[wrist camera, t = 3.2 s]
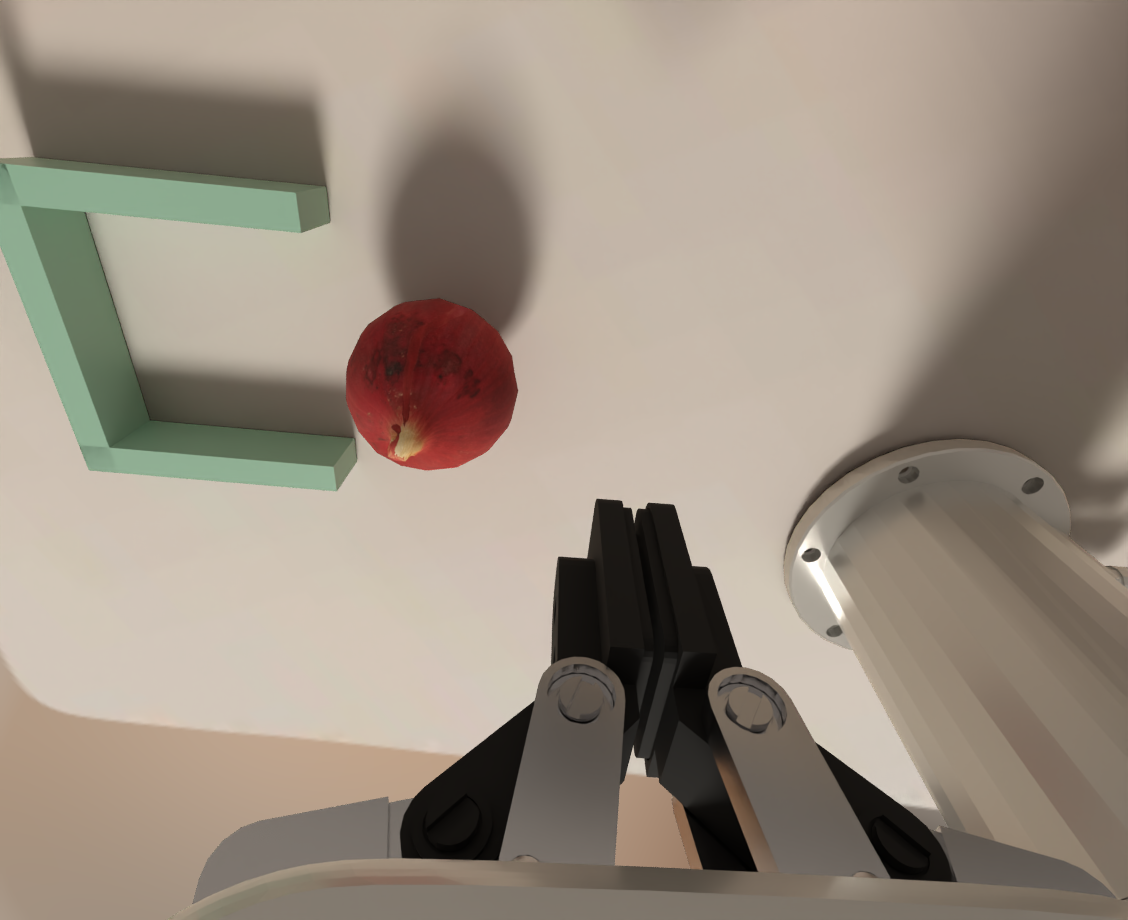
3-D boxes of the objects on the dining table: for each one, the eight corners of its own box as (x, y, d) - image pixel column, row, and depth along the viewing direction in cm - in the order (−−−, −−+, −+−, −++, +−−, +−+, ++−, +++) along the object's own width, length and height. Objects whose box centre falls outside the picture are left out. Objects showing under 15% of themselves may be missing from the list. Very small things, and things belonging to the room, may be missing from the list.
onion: (364, 288, 22) (265, 361, 15) (510, 268, 21) (478, 333, 14) (405, 422, 25) (339, 534, 18) (535, 407, 24) (518, 516, 17)
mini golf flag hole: (325, 186, 20) (-99, 274, 7) (356, 461, 26) (147, 772, 13) (33, 157, 20) (-927, 195, 7) (130, 441, 25) (-305, 741, 13)
